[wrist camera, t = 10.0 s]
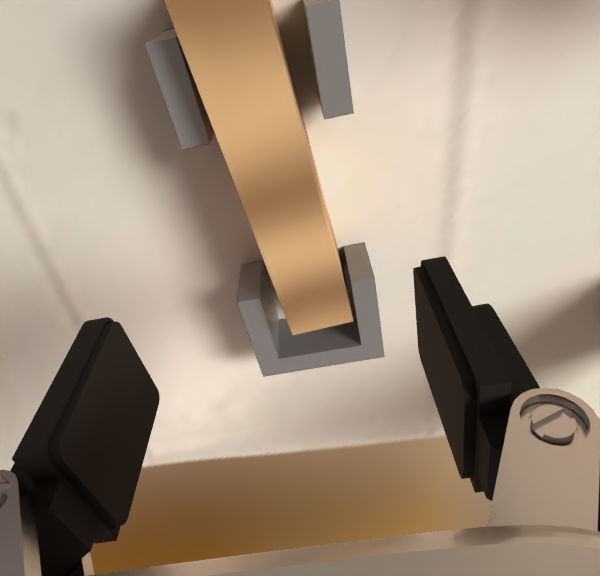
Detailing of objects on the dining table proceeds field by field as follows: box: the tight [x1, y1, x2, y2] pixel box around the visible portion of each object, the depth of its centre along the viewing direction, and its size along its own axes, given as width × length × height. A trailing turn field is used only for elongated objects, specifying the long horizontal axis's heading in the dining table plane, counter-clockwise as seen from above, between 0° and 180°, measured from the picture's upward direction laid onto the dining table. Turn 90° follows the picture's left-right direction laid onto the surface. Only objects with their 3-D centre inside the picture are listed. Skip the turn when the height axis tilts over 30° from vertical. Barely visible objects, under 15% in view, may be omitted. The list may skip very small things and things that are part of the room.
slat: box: [164, 0, 353, 335], centre depth 21 cm, size 16×3×5 cm, turn 15°
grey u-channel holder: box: [237, 242, 385, 377], centre depth 27 cm, size 6×7×4 cm
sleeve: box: [145, 0, 354, 150], centre depth 19 cm, size 4×7×4 cm, turn 101°
